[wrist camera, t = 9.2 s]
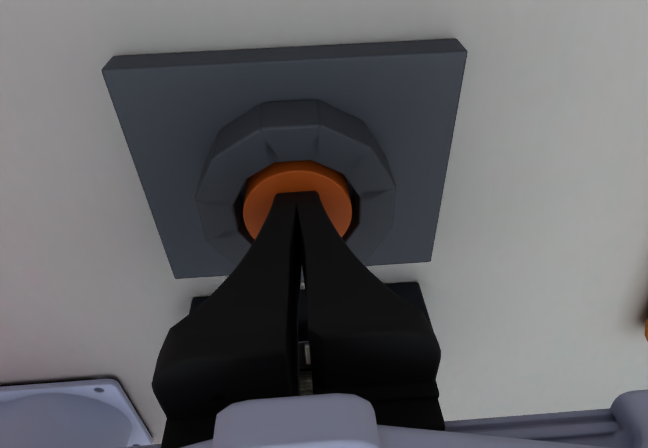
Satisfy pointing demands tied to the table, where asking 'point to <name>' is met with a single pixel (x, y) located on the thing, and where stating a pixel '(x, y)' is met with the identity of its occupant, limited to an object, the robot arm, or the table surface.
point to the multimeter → (646, 330)
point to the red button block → (306, 383)
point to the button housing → (291, 140)
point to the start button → (296, 180)
